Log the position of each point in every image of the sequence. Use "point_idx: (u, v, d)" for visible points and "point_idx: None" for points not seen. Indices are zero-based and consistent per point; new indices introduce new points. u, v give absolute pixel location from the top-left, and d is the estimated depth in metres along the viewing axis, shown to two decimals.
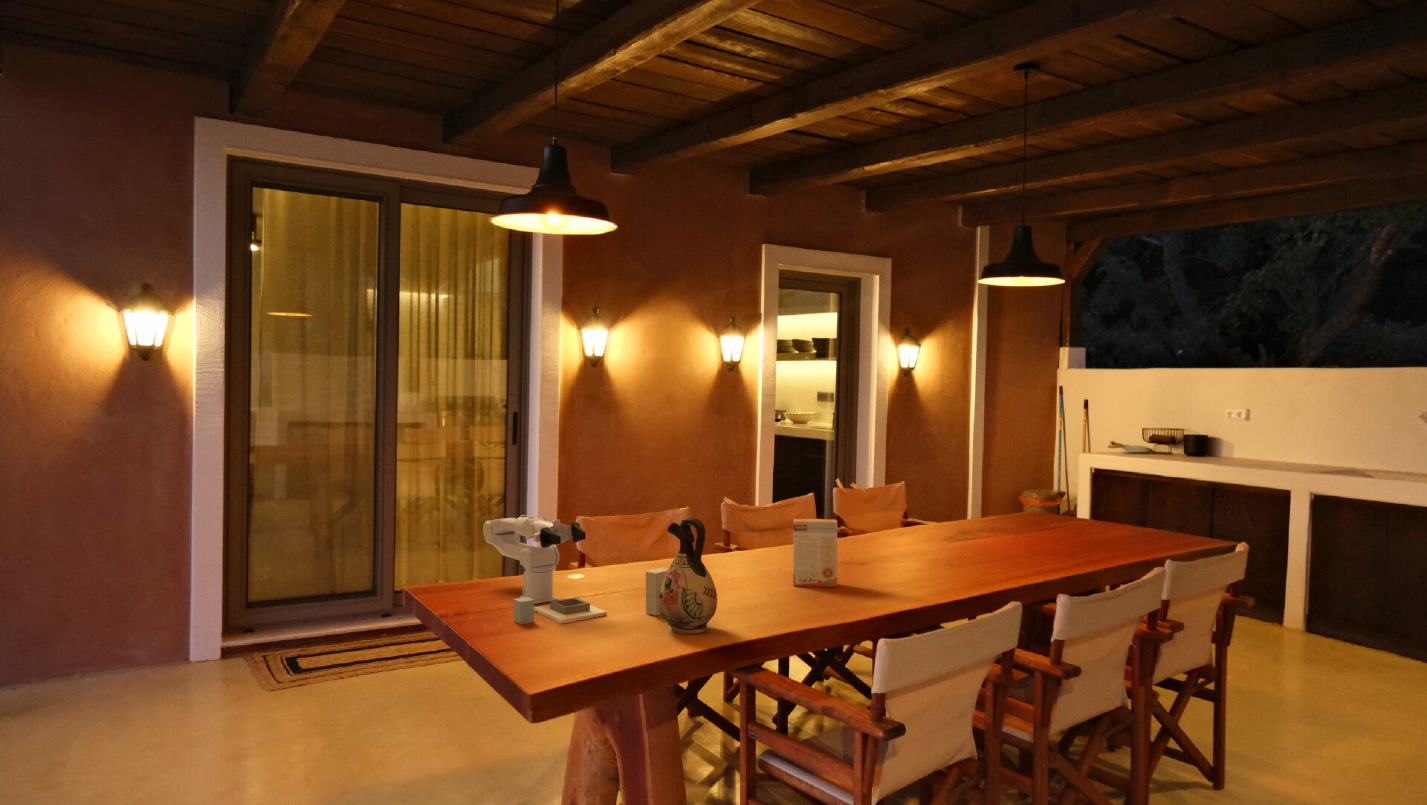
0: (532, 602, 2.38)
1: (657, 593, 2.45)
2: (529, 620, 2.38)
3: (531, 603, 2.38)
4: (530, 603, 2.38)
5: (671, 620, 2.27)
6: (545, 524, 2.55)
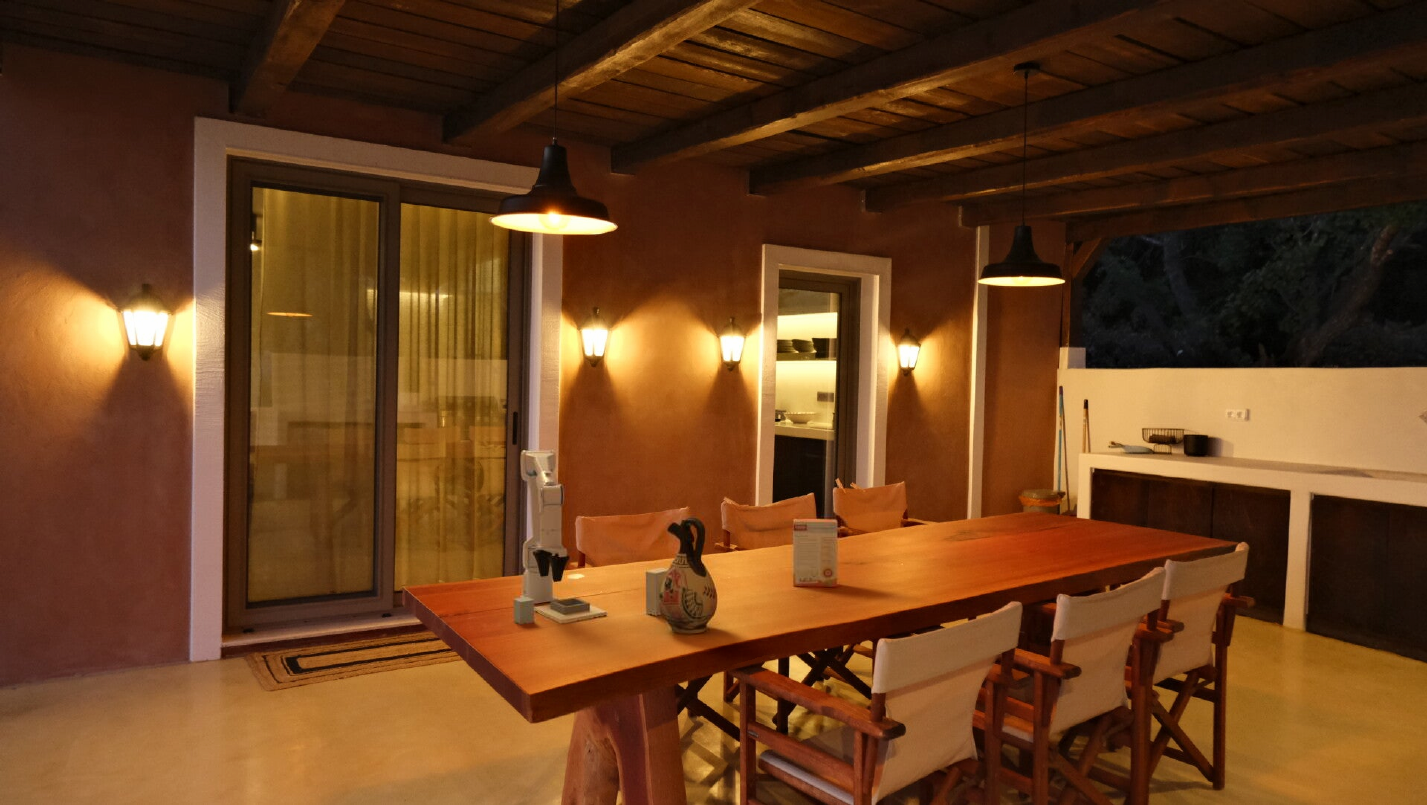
0: (532, 602, 2.38)
1: (657, 593, 2.45)
2: (529, 620, 2.38)
3: (531, 603, 2.38)
4: (530, 603, 2.38)
5: (671, 620, 2.27)
6: (540, 531, 2.43)
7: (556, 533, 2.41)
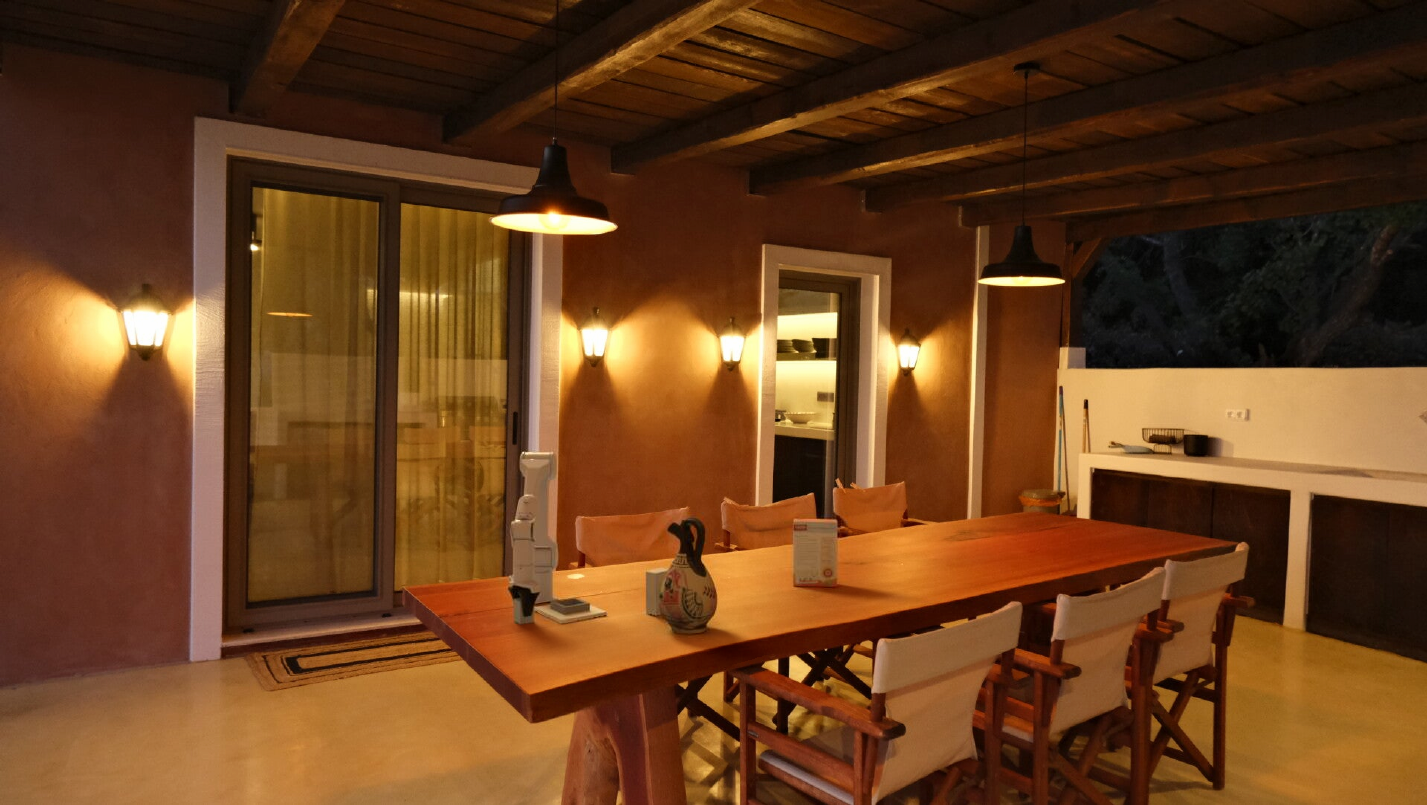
0: None
1: (657, 593, 2.45)
2: (529, 620, 2.38)
3: None
4: None
5: (671, 620, 2.27)
6: (513, 566, 2.38)
7: (528, 568, 2.36)
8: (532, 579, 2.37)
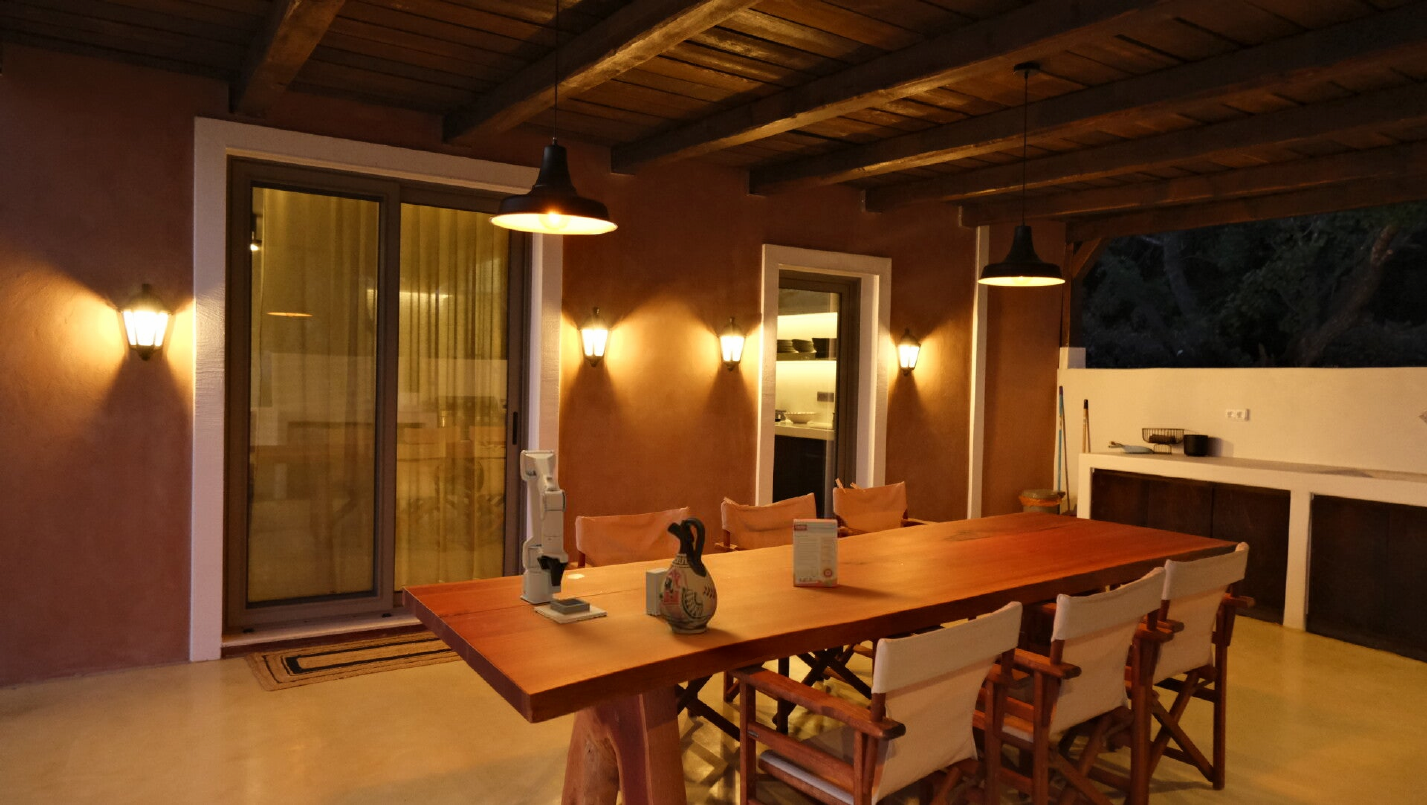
0: None
1: (657, 593, 2.45)
2: (556, 590, 2.42)
3: None
4: None
5: (671, 620, 2.27)
6: (542, 537, 2.43)
7: (557, 538, 2.41)
8: (561, 549, 2.42)
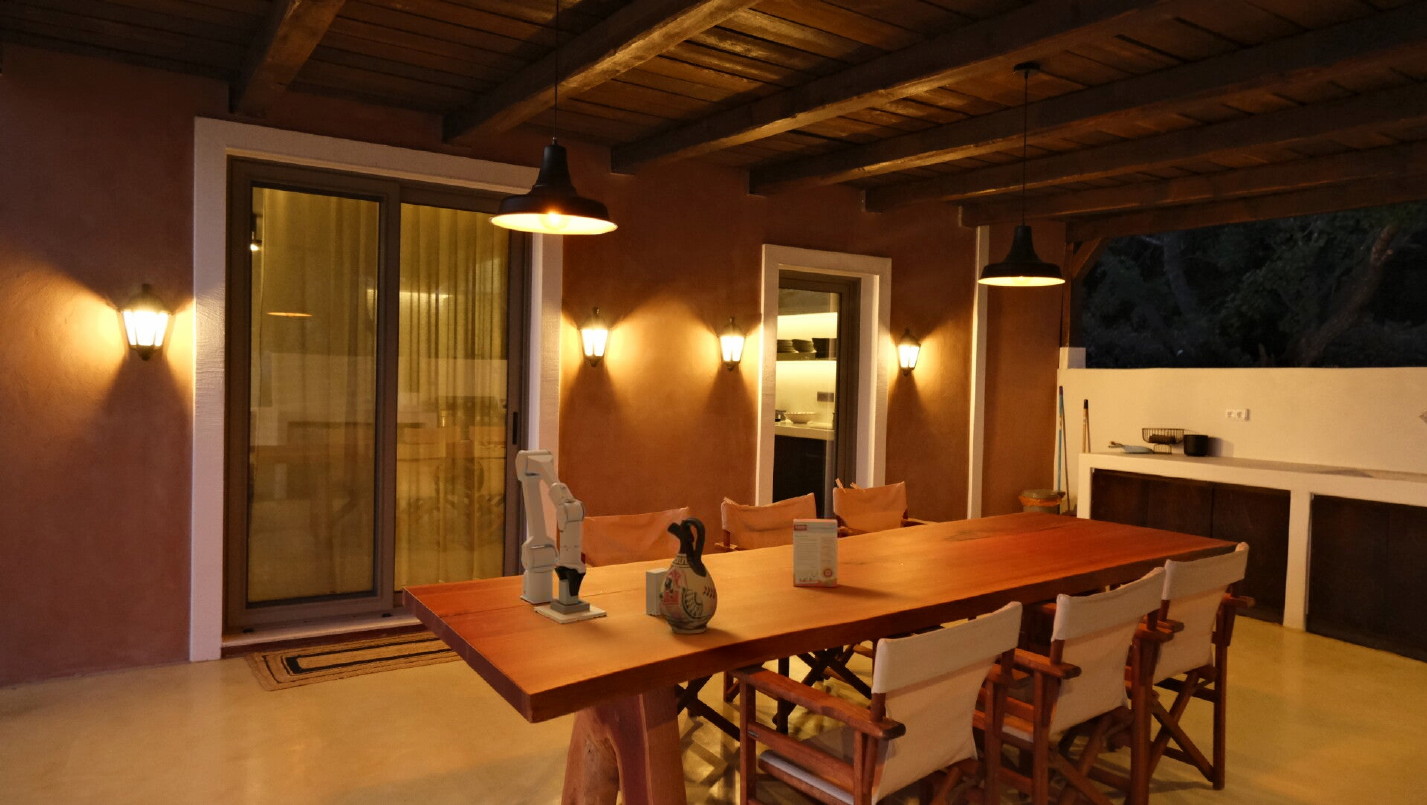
0: None
1: (657, 593, 2.45)
2: (574, 601, 2.46)
3: None
4: None
5: (671, 620, 2.27)
6: (560, 547, 2.46)
7: (575, 549, 2.45)
8: (578, 560, 2.46)
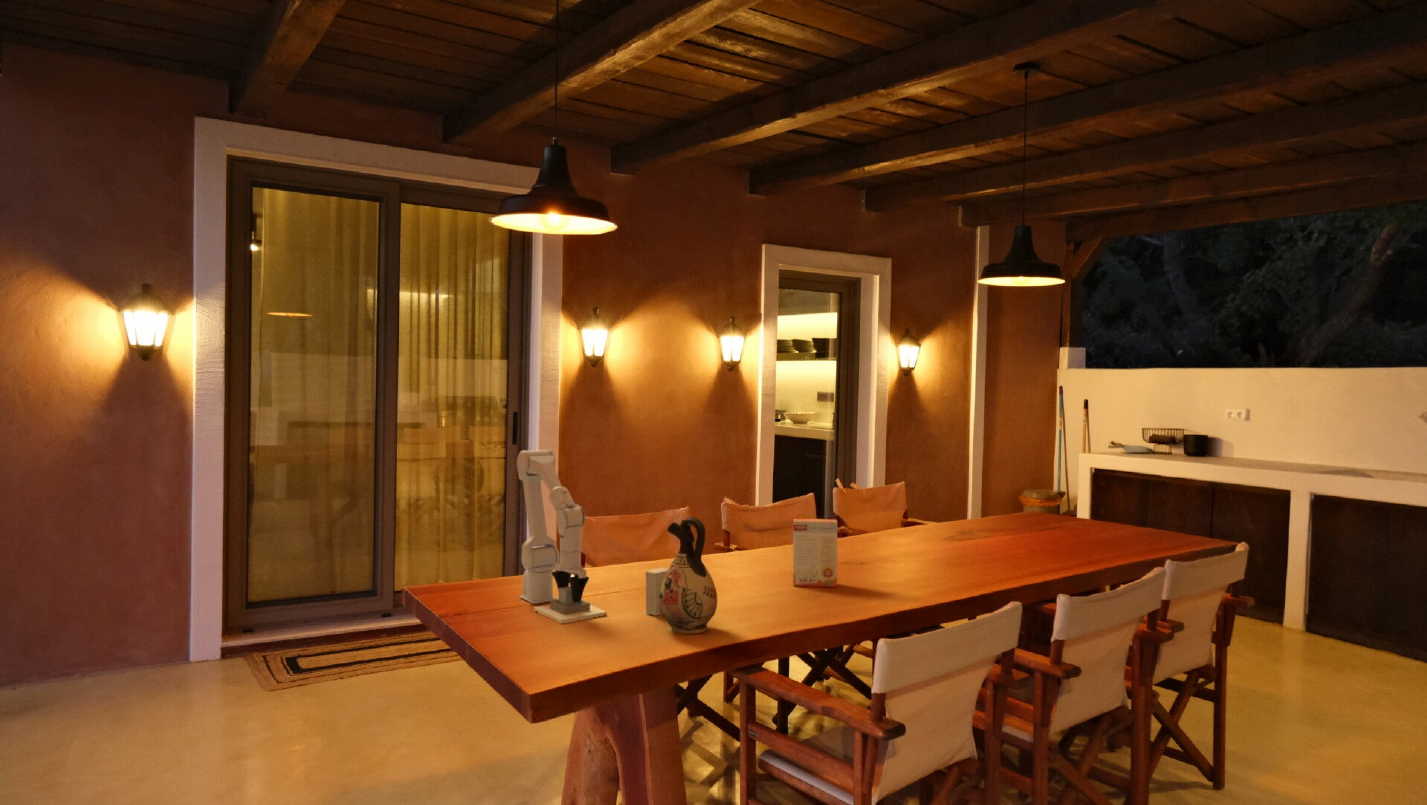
0: None
1: (657, 593, 2.45)
2: None
3: None
4: None
5: (671, 620, 2.27)
6: (560, 552, 2.46)
7: (575, 554, 2.45)
8: (578, 565, 2.46)
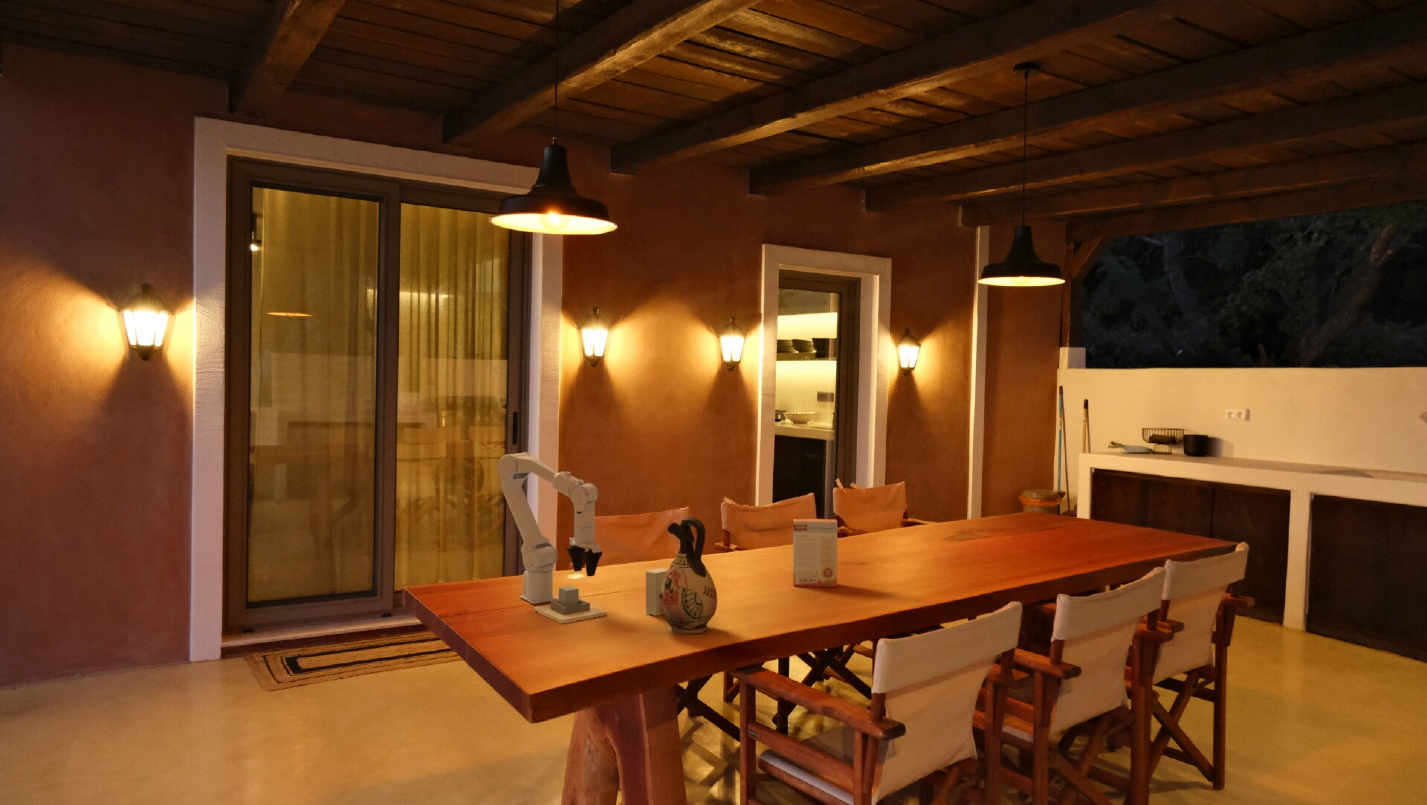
0: (577, 591, 2.46)
1: (657, 593, 2.45)
2: None
3: (576, 592, 2.46)
4: (575, 592, 2.46)
5: (671, 620, 2.27)
6: (574, 528, 2.54)
7: (589, 529, 2.52)
8: (592, 540, 2.53)
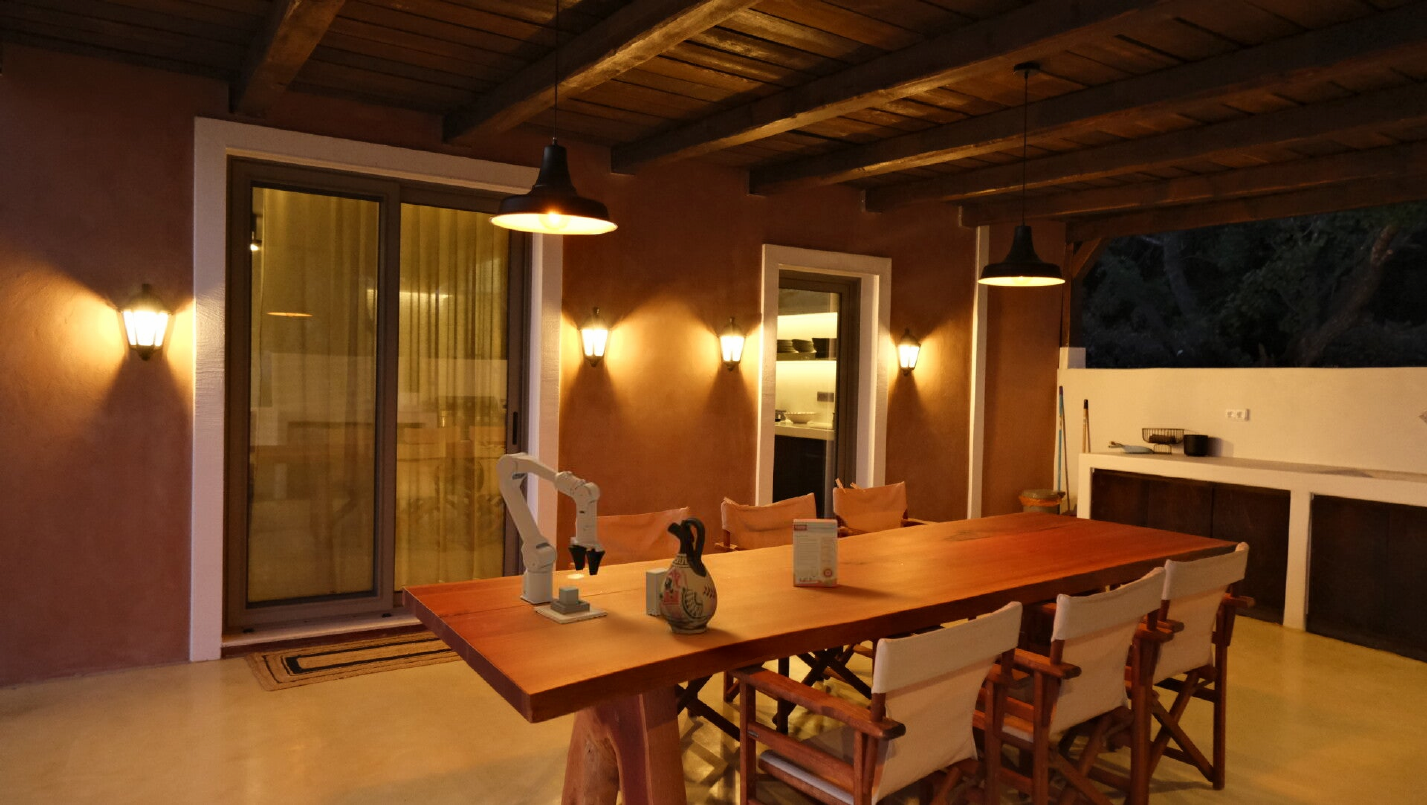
0: (577, 591, 2.46)
1: (657, 593, 2.45)
2: None
3: (576, 592, 2.46)
4: (575, 592, 2.46)
5: (671, 620, 2.27)
6: None
7: (592, 529, 2.53)
8: (595, 539, 2.54)
